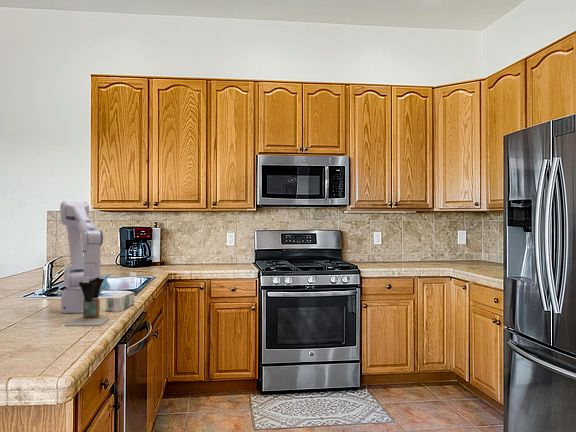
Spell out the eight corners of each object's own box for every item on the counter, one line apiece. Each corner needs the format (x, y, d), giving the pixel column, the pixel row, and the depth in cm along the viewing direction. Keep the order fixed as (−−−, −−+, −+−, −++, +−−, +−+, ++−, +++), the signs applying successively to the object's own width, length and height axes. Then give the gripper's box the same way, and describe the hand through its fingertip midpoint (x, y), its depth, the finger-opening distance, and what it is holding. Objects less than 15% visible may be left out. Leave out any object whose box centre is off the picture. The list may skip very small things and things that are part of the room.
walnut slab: (83, 319, 173) (83, 300, 173) (85, 317, 175) (85, 298, 175) (97, 319, 173) (97, 299, 173) (99, 317, 176) (99, 298, 176)
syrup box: (121, 291, 202) (104, 297, 187) (135, 291, 201) (119, 297, 186) (121, 304, 202) (104, 311, 187) (134, 305, 201) (118, 312, 186)
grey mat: (64, 326, 162) (64, 325, 162) (74, 319, 171) (74, 318, 171) (101, 325, 163) (101, 324, 163) (109, 319, 173) (109, 318, 173)
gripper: (97, 264, 168) (97, 303, 168) (108, 261, 182) (108, 296, 182) (76, 264, 167) (76, 303, 167) (89, 261, 181) (89, 296, 181)
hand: (91, 300), depth 174 cm, fingers open, 7 cm apart
